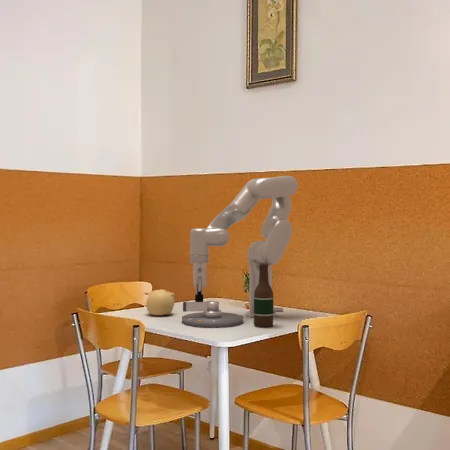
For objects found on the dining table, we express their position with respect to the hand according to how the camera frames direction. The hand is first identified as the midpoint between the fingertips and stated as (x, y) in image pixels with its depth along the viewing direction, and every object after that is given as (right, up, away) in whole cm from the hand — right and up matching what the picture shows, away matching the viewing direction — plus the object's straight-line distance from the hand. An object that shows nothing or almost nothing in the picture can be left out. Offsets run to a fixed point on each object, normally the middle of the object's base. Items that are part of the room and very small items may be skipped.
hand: (199, 304), depth 249 cm
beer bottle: (+25, -7, -13) cm, 29 cm away
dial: (+1, -4, -6) cm, 7 cm away
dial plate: (+5, -6, -5) cm, 10 cm away
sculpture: (-17, -6, +11) cm, 21 cm away
